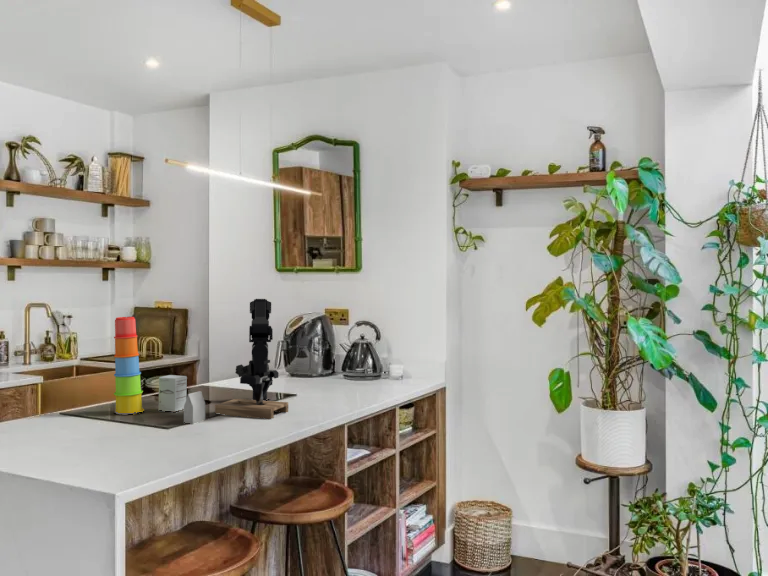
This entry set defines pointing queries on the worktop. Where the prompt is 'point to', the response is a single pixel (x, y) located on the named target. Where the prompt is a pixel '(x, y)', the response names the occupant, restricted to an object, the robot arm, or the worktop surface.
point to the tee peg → (260, 400)
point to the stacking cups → (127, 367)
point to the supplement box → (172, 392)
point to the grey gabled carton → (194, 408)
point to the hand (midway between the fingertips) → (259, 400)
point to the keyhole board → (251, 408)
